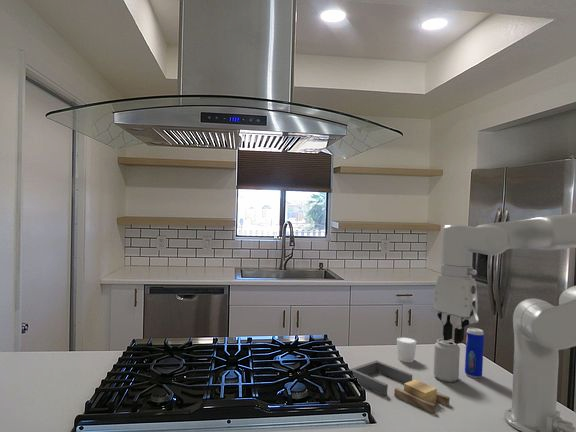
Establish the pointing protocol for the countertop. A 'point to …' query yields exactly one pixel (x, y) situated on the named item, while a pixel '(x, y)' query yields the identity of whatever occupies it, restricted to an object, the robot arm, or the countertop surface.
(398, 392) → the chute
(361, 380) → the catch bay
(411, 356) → the white tapered cylinder
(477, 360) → the beverage can
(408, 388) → the ochre block
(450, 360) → the can
